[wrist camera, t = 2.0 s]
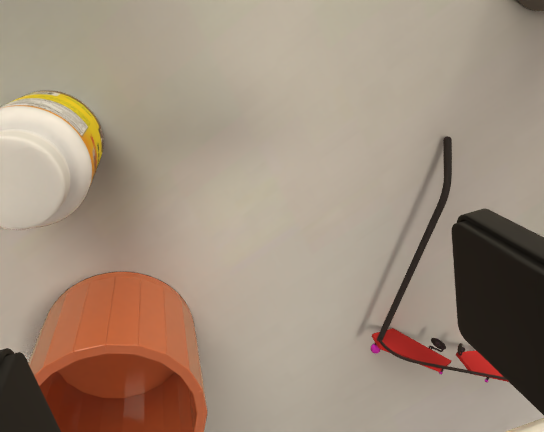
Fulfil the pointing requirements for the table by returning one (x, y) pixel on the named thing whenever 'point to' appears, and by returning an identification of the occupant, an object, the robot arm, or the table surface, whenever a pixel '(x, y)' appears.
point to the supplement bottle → (46, 158)
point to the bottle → (533, 4)
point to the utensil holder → (121, 358)
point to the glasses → (426, 356)
